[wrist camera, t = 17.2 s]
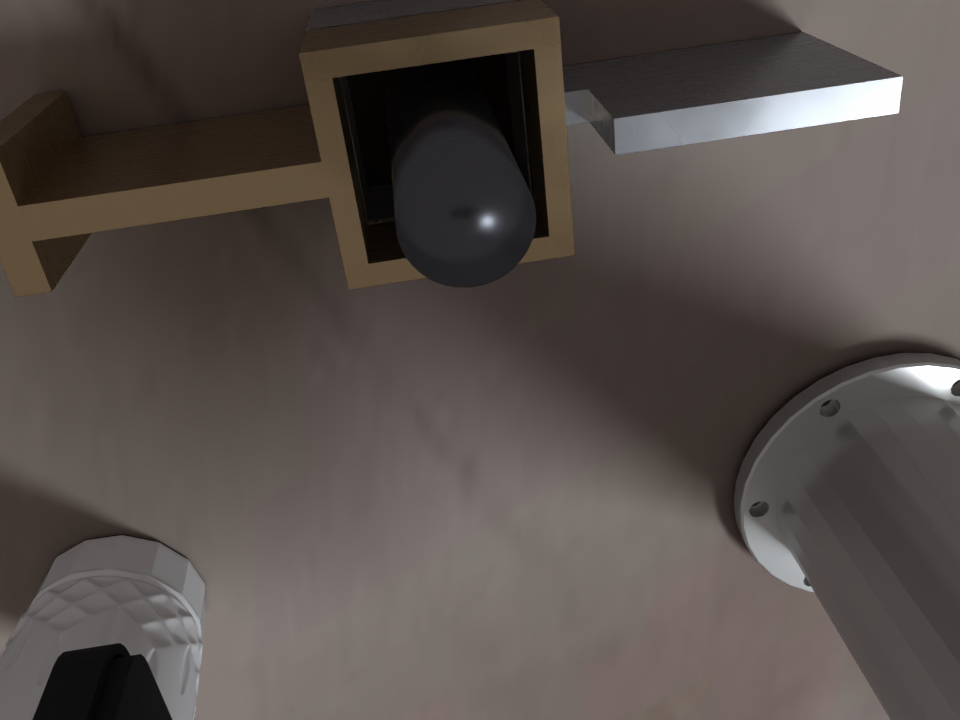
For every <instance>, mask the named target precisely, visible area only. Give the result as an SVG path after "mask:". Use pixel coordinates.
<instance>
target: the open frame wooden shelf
mask: <svg viewBox="0 0 960 720" xmlns="http://www.w3.org/2000/svg"><path fill="white" fill-rule="evenodd" d="M517 51H519V55H520V66H521V78H522V89H523V100H524V111H525V122H526V134H527V145H528V156H529V167H530V178H531V189H532V198H533V201H534V204H535V210H536V227H535V233H534V237H533V240H532V242H531V245H530V247H529V249H528V251H527V252H526V254H525V256H524V257H523V258H522V260H521V261H520V262H519V263H518V264H521V263H527V262H534V261H540V260H547V259H553V258H560V257H567V256H573V255H575V248H574V233H573V218H572V203H571V188H570V173H569V158H568V143H567V127H566V112H565V97H564V82H563V67H562V52H561V37H560V22H559V16H558V15H557V14H556V13H555V12H554V11H553V10H552V9H551V8H549V7H548V6H547V5H546V4H545V3H544V2H543V1H542V0H522V1H515V2H508V3H501V4H494V5H487V6H480V7H473V8H466V9H459V10H452V11H444V12H437V13H430V14H423V15H416V16H409V17H402V18H395V19H388V20H381V21H374V22H367V23H360V24H353V25H345V26H338V27H331V28H324V29H317V30H310V31H305V34H304V38H303V41H302V44H301V48H300V51H299V57H300V62H301V67H302V71H303V76H304V81H305V86H306V90H307V95H308V100H309V105H303V106H296V107H289V108H282V109H275V110H268V111H261V112H254V113H248V114H241V115H234V116H227V117H220V118H213V119H206V120H199V121H192V122H185V123H178V124H171V125H164V126H158V127H151V128H144V129H137V130H130V131H123V132H116V133H109V134H102V135H95V136H88V137H82V135H81V132H80V129H79V126H78V124H77V121H76V118H75V115H74V112H73V109H72V106H71V103H70V100H69V97H68V95H67V92H66V91H59V92H52V93H45V94H38V95H34V96H32V97H31V98H30V99H28V100H27V101H26V102H25V103H23V104H22V105H21V106H20V107H18V108H17V109H16V110H14V111H13V112H12V113H11V114H9V115H8V116H7V117H6V118H4V119H3V120H2V121H0V262H1V264H2V267H3V269H4V271H5V274H6V276H7V278H8V281H9V283H10V286H11V288H12V290H13V293H14V295H15V297H19V296H26V295H32V294H39V293H46V292H52V291H53V289H54V288H55V286H56V285H57V283H58V282H59V280H60V279H61V277H62V276H63V275H64V273H65V272H66V270H67V269H68V267H69V266H70V264H71V263H72V261H73V260H74V258H75V257H76V255H77V254H78V253H79V251H80V250H81V248H82V247H83V245H84V244H85V242H86V241H87V239H88V238H89V236H90V235H91V234H92V233H93V232H100V231H107V230H113V229H120V228H127V227H134V226H140V225H147V224H154V223H160V222H167V221H174V220H181V219H187V218H194V217H201V216H208V215H214V214H221V213H228V212H235V211H241V210H248V209H255V208H261V207H268V206H275V205H282V204H288V203H295V202H302V201H309V200H315V199H322V198H329V200H330V204H331V209H332V214H333V219H334V223H335V228H336V233H337V238H338V242H339V247H340V252H341V257H342V261H343V266H344V271H345V275H346V280H347V285H348V290H350V289H357V288H363V287H370V286H376V285H383V284H389V283H396V282H403V281H409V280H416V279H422V278H427V277H425V276H424V275H422V274H421V273H420V272H419V271H417V270H416V269H415V268H414V267H413V266H412V265H411V263H410V262H409V261H408V260H407V258H406V257H405V255H404V253H403V251H402V249H401V247H400V244H399V242H398V238H397V233H396V222H395V221H389V222H382V223H376V224H369V225H368V222H367V217H366V212H365V206H364V201H363V196H362V191H361V185H360V180H359V175H358V170H357V164H356V159H355V154H354V149H353V143H352V138H351V133H350V128H349V122H348V117H347V112H346V107H345V101H344V96H343V91H342V86H341V80H340V77H342V76H349V75H356V74H363V73H370V72H377V71H384V70H391V69H398V68H405V67H412V66H419V65H426V64H433V63H440V62H447V61H454V60H461V59H468V58H475V57H482V56H489V55H496V54H503V53H510V52H517Z"/></svg>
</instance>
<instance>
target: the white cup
mask: <svg viewBox="0 0 960 720" xmlns="http://www.w3.org/2000/svg"><path fill="white" fill-rule="evenodd" d="M205 612H206V603H205V584H204V582H203V580H202V579H201V578H200V576H199V575H198V573H197V572H196V570H195V569H194V567H193V566H192V564H191V563H190V561H189V560H188V559H186V558H185V557H183V556H181V555H180V554H178V553H176V552H175V551H173V550H171V549H170V548H168V547H166V546H165V545H163V544H161V543H159V542H155V541H150V540H145V539H140V538H135V537H130V536H125V535H119V536H112V537H105V538H98V539H91V540H85V541H83V542H82V543H80V544H78V545H76V546H75V547H73V548H71V549H70V550H68V551H66V552H64V553H63V554H61V555H59V556H58V557H56V559H55V560H54V562H53V564H52V566H51V567H50V569H49V571H48V573H47V575H46V576H45V578H44V580H43V582H42V583H41V585H40V587H39V589H38V591H37V594H36V596H35V598H34V600H33V601H32V603H31V605H30V606H29V608H28V609H27V610H26V611H25V612H24V613H23V614H22V616H21V617H20V619H19V621H18V623H17V625H16V628H15V630H14V631H13V633H12V635H11V636H10V638H9V639H8V641H7V643H6V645H5V647H4V649H3V651H2V653H1V655H0V720H33V717H34V714H35V712H36V709H37V707H38V704H39V702H40V699H41V696H42V694H43V691H44V689H45V686H46V684H47V681H48V679H49V676H50V673H51V671H52V668H53V666H54V664H55V662H56V660H57V658H58V657H59V656H60V655H61V654H62V653H63V652H66V651H72V650H79V649H85V648H91V647H97V646H104V645H110V644H117V643H121V644H122V645H124V646H125V647H126V649H127V650H128V652H129V654H130V656H131V655H138V654H141V655H143V656H144V657H145V659H146V660H147V662H148V664H149V667H150V669H151V671H152V674H153V676H154V678H155V681H156V683H157V685H158V687H159V690H160V692H161V694H162V697H163V699H164V701H165V704H166V706H167V708H168V710H169V713H170V715H171V717H172V720H195V714H196V706H197V703H196V699H197V692H198V685H199V676H200V666H201V659H202V649H203V644H202V640H201V639H202V633H203V626H204V620H205Z"/></svg>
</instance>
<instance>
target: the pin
mask: <svg viewBox="0 0 960 720" xmlns="http://www.w3.org/2000/svg"><path fill="white" fill-rule="evenodd" d="M386 112H387V124H388V136H389V149H390V161H391V173H392V186H393V198H394V210H395V222H396V233H397V238H398V242H399V244H400V247H401V249H402V251H403V253H404V255H405V257H406V258H407V260H408V261H409V262H410V263H411V265H412V266H413V267H414V268H415V269H416V270H417V271H419V272H420V273H421V274H422V275H424V276H425V277H427V278H429V279H431V280H433V281H435V282H437V283H440V284H443V285H447V286H452V287H475V286H480V285H484V284H487V283H490V282H493V281H495V280H497V279H499V278H501V277H502V276H504V275H505V274H507V273H508V272H510V271H511V270H512V269H513V268H514V267H515V266H516V265H517V264H518V263H519V262H520V261H521V260H522V258H523V257H524V256H525V254H526V252H527V251H528V249H529V247H530V245H531V242H532V240H533V237H534V233H535V227H536V210H535V204H534V201H533V198H532V195H531V193H530V191H529V189H528V186H527V184H526V182H525V180H524V178H523V176H522V174H521V171H520V169H519V167H518V165H517V163H516V161H515V159H514V156H513V154H512V152H511V150H510V148H509V146H508V144H507V141H506V139H505V137H504V135H503V133H502V131H501V129H500V127H499V124H498V122H497V120H496V118H495V116H494V114H493V112H492V109H491V107H490V105H489V103H488V101H487V99H486V97H485V94H484V92H483V90H482V88H481V86H480V84H479V82H478V79H477V77H476V76H475V74H474V72H473V71H472V70H471V68H470V67H469V66H468V65H467V64H466V63H465V62H463V61H462V60H454V61H447V62H440V63H433V64H426V65H419V66H412V67H405V68H398V69H397V70H396V71H395V72H394V74H393V75H392V77H391V79H390V81H389V84H388V87H387V92H386Z"/></svg>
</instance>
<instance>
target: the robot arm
mask: <svg viewBox="0 0 960 720" xmlns="http://www.w3.org/2000/svg"><path fill="white" fill-rule="evenodd" d="M734 511H735V518H736V524H737V527H738V529H739V531H740V533H741V536H742V538H743V540H744V542H745V544H746V546H747V547H748V549H749V551H750V552H751V554H752V556H753V557H754V559H755V561H756V562H757V563H758V564H759V565H760V566H761V567H762V568H763V569H764V570H765V571H767V572H768V573H769V574H770V575H771V576H773V577H775V578H776V579H778V580H780V581H782V582H783V583H785V584H787V585H789V586H792V587H795V588H798V589H801V590H804V591H808V592H815V594H816V595H817V597H818V599H819V601H820V602H821V604H822V606H823V607H824V609H825V611H826V612H827V614H828V616H829V617H830V619H831V621H832V622H833V624H834V626H835V627H836V629H837V631H838V632H839V634H840V636H841V637H842V639H843V641H844V642H845V644H846V646H847V648H848V649H849V651H850V653H851V654H852V656H853V658H854V659H855V661H856V663H857V664H858V666H859V668H860V669H861V671H862V673H863V674H864V676H865V678H866V679H867V681H868V683H869V684H870V686H871V688H872V689H873V691H874V693H875V695H876V696H877V698H878V700H879V701H880V703H881V705H882V706H883V708H884V710H885V711H886V713H887V715H888V716H889V718H890V720H960V360H958V359H956V358H951V357H947V356H942V355H937V354H932V353H900V354H893V355H887V356H881V357H875V358H872V359H868V360H865V361H862V362H859V363H856V364H853V365H850V366H847V367H845V368H842V369H840V370H838V371H836V372H834V373H832V374H830V375H828V376H826V377H824V378H822V379H820V380H818V381H817V382H815V383H814V384H812V385H811V386H809V387H808V388H806V389H805V390H804V391H802V392H801V393H799V394H798V395H796V396H795V397H793V398H792V399H791V400H790V401H789V402H788V403H787V404H786V405H785V406H784V407H783V408H781V409H780V410H779V411H778V412H777V413H776V414H775V415H774V416H773V417H772V418H771V419H770V420H769V422H768V423H767V424H766V425H765V427H764V428H763V429H762V430H761V432H760V433H759V434H758V435H757V437H756V438H755V440H754V441H753V443H752V445H751V447H750V449H749V451H748V452H747V454H746V456H745V458H744V460H743V462H742V465H741V468H740V471H739V474H738V477H737V480H736V484H735V495H734ZM33 720H172V717H171V715H170V713H169V710H168V708H167V706H166V704H165V701H164V699H163V697H162V694H161V692H160V690H159V687H158V685H157V683H156V681H155V678H154V676H153V674H152V671H151V669H150V667H149V664H148V662H147V660H146V659H145V657H144V656H143V655H141V654H138V655H131V656H130V654H129V652H128V650H127V649H126V647H125V646H124V645H122V644H121V643H117V644H110V645H104V646H97V647H91V648H85V649H79V650H72V651H66V652H63V653H62V654H61V655H60V656H59V657H58V658H57V660H56V662H55V664H54V666H53V668H52V671H51V673H50V676H49V679H48V681H47V684H46V686H45V689H44V691H43V694H42V696H41V699H40V702H39V704H38V707H37V709H36V712H35V714H34V717H33Z"/></svg>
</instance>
